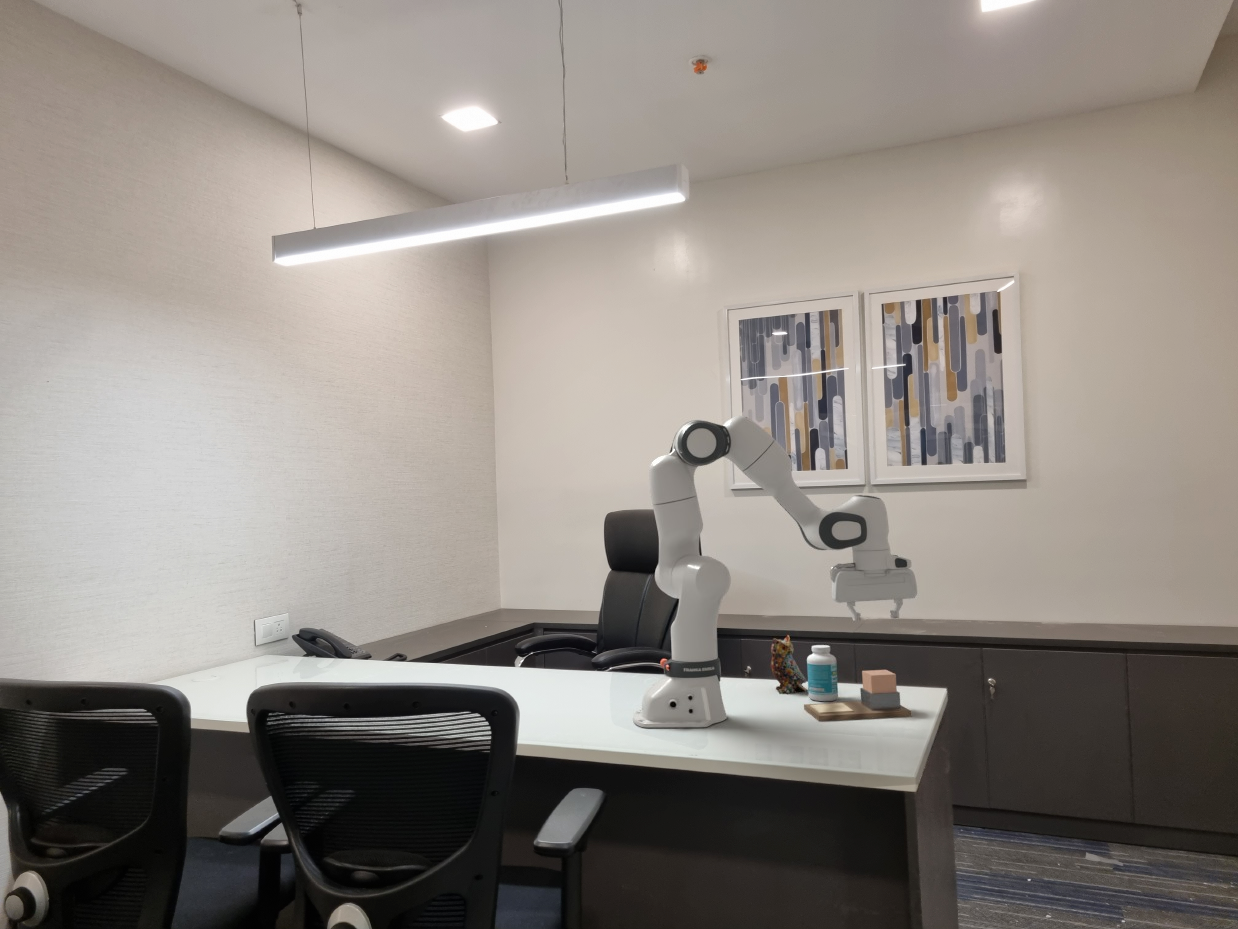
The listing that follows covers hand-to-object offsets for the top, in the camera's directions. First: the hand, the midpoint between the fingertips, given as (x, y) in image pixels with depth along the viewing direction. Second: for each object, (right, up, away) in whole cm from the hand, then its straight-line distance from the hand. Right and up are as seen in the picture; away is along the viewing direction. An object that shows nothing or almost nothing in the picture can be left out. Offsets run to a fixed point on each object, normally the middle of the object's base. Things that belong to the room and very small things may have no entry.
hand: (875, 619), depth 201 cm
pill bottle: (-9, -23, +14) cm, 29 cm away
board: (-5, -22, -2) cm, 23 cm away
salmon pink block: (+1, -17, -1) cm, 17 cm away
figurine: (-16, -24, +25) cm, 38 cm away
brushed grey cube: (+1, -21, -1) cm, 21 cm away
